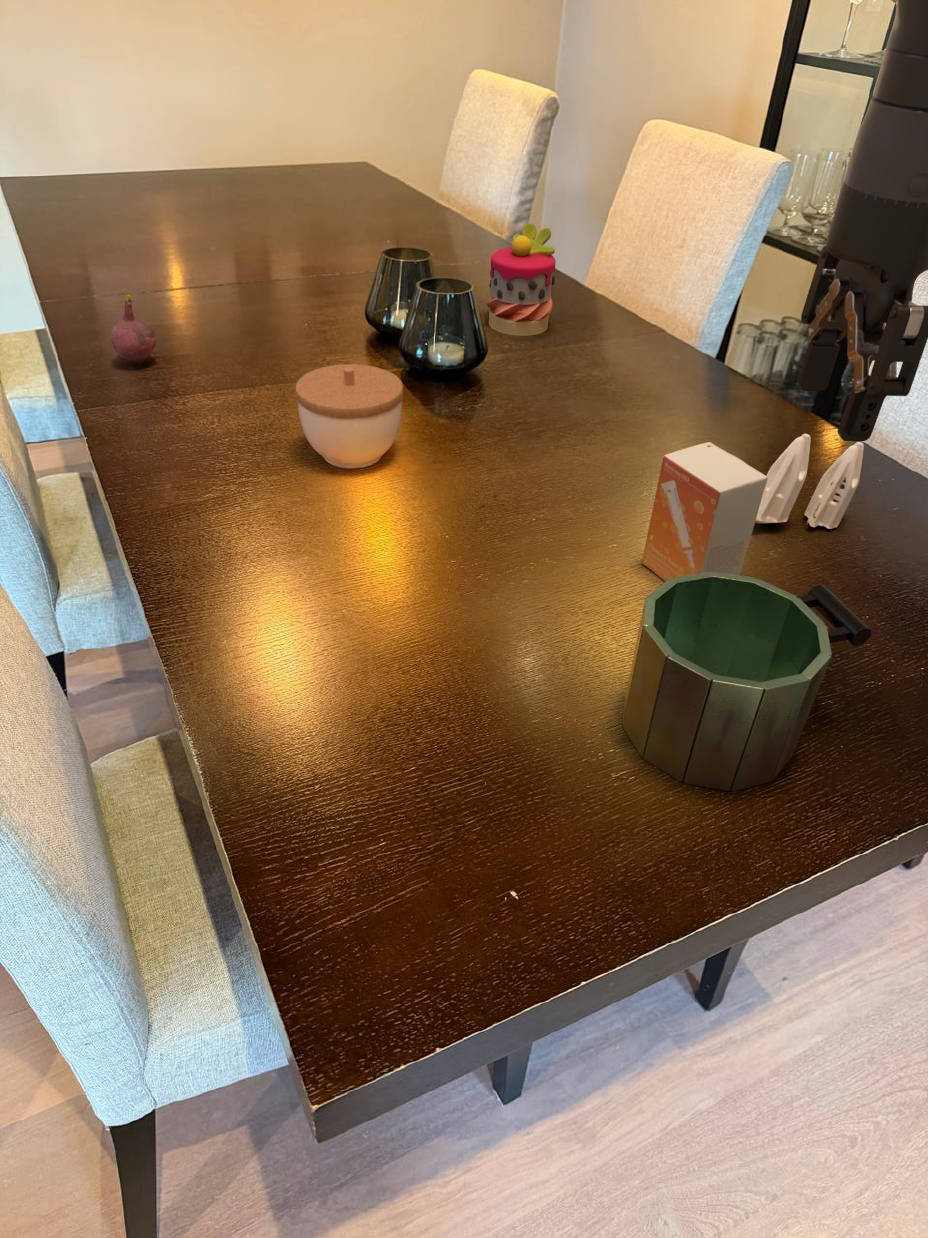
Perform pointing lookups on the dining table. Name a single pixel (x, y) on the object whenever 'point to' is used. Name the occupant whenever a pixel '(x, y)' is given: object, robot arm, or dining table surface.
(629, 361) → the dining table surface
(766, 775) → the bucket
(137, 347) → the vegetable
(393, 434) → the lidded bowl
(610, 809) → the dining table surface
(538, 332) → the cake
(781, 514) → the shaker set
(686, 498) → the small box
